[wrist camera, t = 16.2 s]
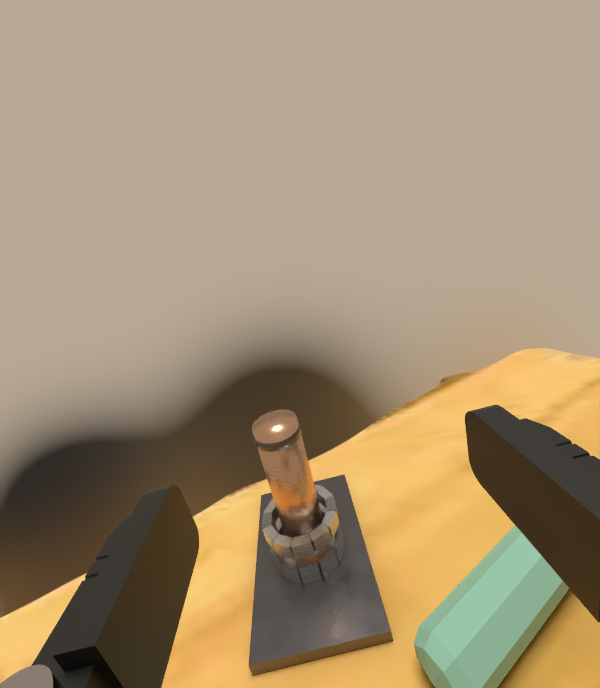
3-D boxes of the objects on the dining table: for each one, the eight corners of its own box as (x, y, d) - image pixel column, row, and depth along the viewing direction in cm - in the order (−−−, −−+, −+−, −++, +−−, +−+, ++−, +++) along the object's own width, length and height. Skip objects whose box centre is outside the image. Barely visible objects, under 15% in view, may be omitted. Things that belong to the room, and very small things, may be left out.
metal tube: (326, 523, 37) (296, 405, 32) (332, 560, 32) (298, 429, 28) (288, 532, 37) (252, 415, 32) (289, 570, 32) (248, 441, 28)
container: (445, 673, 19) (620, 463, 29) (387, 617, 24) (552, 457, 35) (489, 770, 19) (651, 523, 29) (420, 691, 24) (577, 507, 34)
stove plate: (345, 481, 44) (337, 445, 42) (393, 640, 26) (381, 589, 24) (263, 501, 44) (251, 467, 42) (252, 675, 26) (231, 626, 24)
